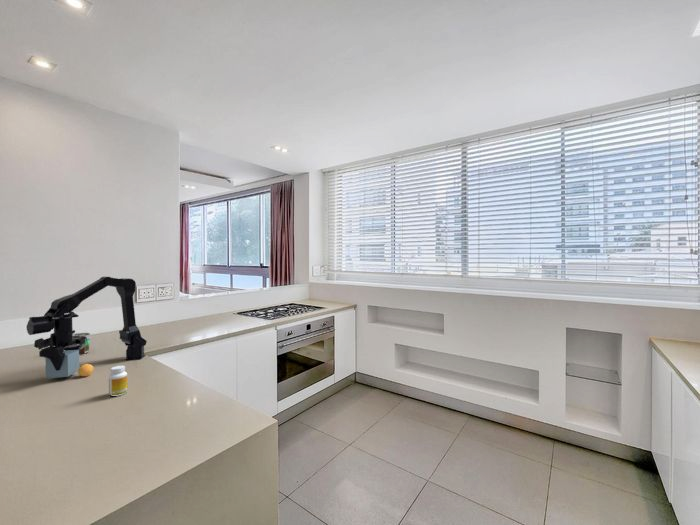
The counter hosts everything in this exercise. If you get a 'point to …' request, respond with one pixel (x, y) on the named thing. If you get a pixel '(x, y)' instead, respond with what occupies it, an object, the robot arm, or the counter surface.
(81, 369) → the ball
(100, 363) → the counter surface
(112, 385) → the supplement bottle
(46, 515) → the counter surface
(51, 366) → the pale blue-grey cube
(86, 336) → the food container
